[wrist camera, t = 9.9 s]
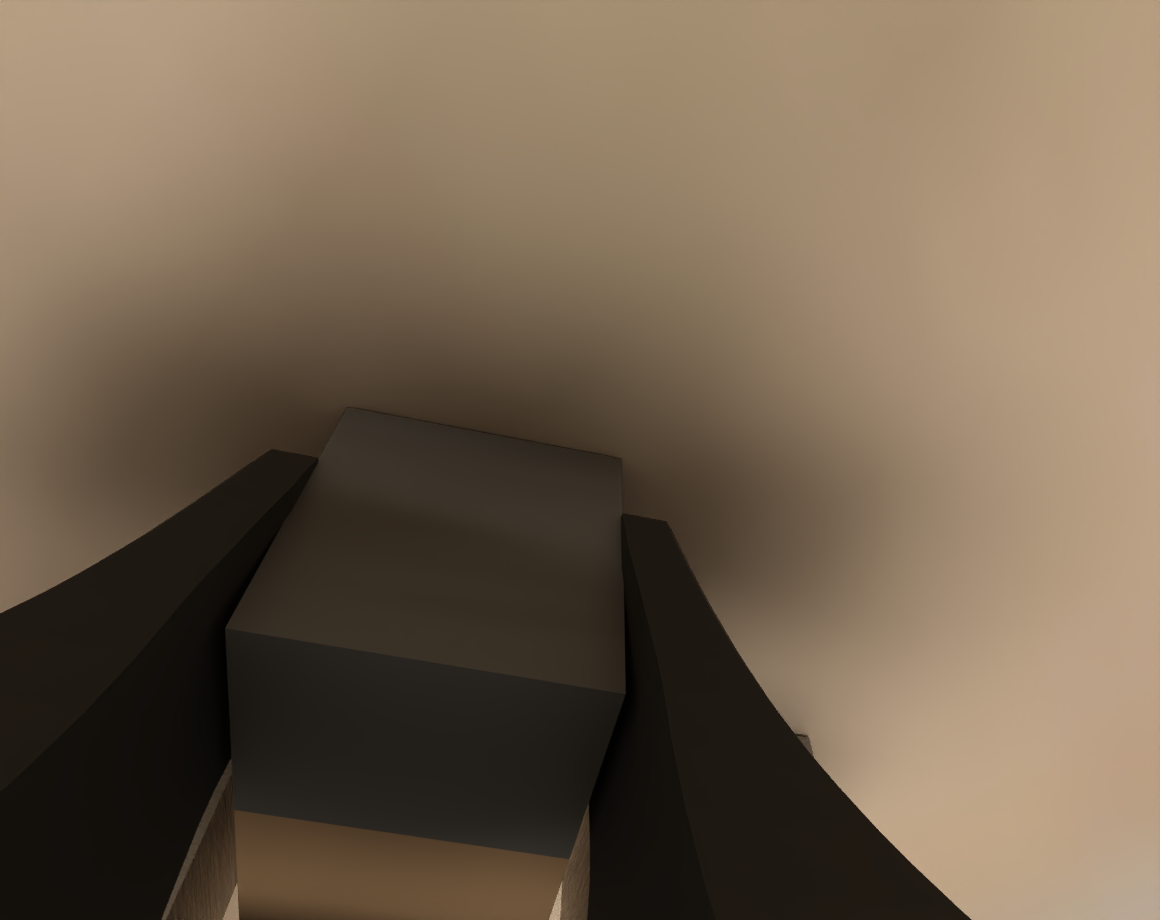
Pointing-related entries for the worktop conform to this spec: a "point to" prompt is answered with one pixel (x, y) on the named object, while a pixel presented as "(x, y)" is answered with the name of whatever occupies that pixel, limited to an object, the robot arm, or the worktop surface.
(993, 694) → the worktop surface
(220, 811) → the u-shaped slotted block
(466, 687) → the bar
